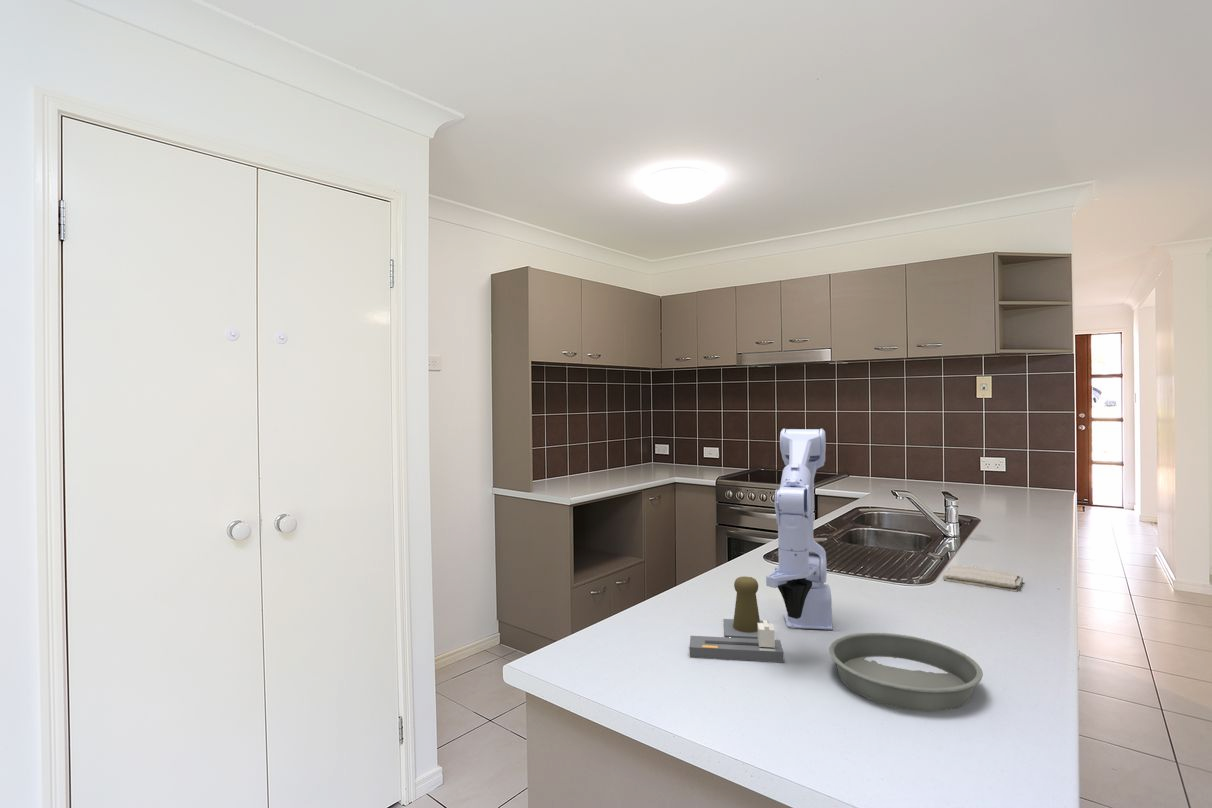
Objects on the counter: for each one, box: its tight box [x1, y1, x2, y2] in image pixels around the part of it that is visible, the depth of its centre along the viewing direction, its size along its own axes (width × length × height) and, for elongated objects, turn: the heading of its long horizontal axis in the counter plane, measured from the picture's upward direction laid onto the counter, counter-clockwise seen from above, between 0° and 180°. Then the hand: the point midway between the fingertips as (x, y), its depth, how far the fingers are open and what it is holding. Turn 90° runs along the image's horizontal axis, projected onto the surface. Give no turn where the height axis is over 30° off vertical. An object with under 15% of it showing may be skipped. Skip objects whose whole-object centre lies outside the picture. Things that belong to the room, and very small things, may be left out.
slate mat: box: [722, 618, 769, 639], centre depth 134 cm, size 10×10×1 cm
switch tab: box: [757, 619, 776, 648], centre depth 121 cm, size 3×4×4 cm
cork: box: [733, 576, 761, 633], centre depth 134 cm, size 6×6×11 cm
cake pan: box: [828, 632, 984, 712], centre depth 109 cm, size 25×25×4 cm
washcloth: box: [942, 564, 1024, 593], centre depth 167 cm, size 12×18×3 cm, turn 52°
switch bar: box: [689, 635, 785, 663], centre depth 122 cm, size 18×6×2 cm, turn 80°
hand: (794, 617), depth 120 cm, fingers closed
